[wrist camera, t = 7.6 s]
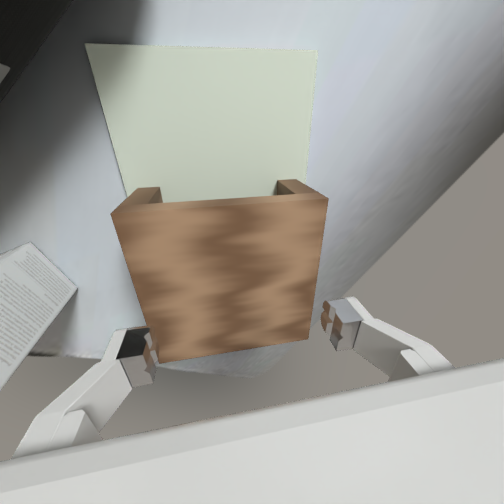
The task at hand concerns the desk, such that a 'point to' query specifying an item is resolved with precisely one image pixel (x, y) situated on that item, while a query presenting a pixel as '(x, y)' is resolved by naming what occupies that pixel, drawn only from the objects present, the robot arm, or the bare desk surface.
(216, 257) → the stool
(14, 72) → the portable speaker
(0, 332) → the skincare box
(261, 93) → the mat
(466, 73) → the desk surface
